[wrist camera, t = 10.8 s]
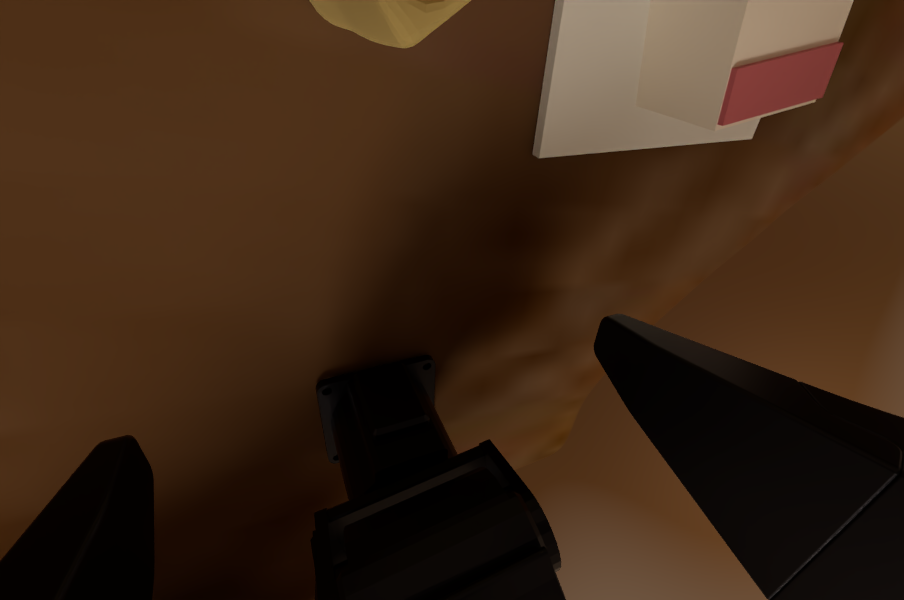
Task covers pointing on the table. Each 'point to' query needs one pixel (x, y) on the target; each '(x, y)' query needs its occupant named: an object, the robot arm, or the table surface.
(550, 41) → the grey mat
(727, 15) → the card box
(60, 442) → the table surface
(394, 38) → the cheese
